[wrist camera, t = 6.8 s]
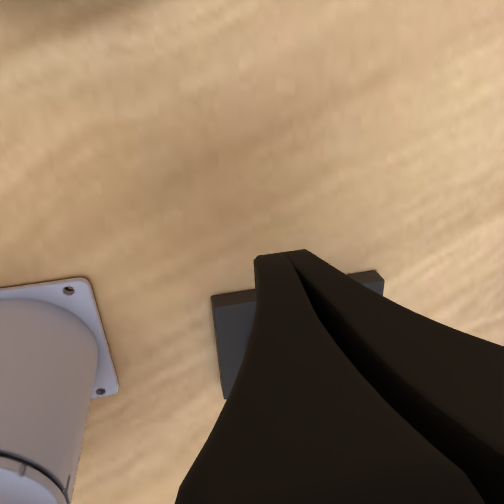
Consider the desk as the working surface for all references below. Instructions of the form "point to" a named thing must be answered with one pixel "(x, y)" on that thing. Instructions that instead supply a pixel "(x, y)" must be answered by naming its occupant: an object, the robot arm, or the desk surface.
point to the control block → (241, 321)
